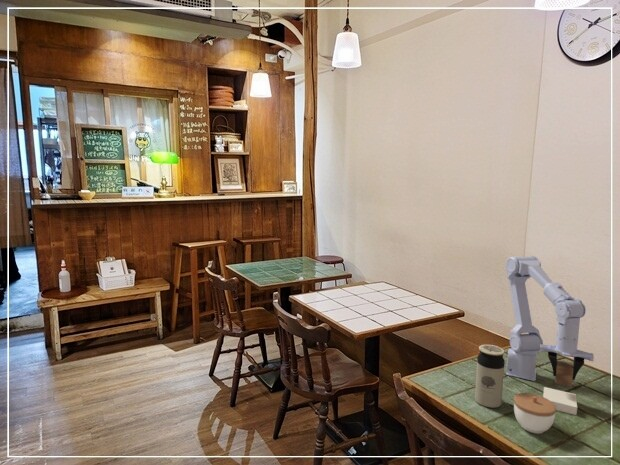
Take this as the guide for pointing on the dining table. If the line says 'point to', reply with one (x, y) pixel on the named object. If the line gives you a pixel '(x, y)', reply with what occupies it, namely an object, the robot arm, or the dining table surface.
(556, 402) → the cream tile block
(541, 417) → the lidded jar
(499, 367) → the travel mug
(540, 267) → the robot arm
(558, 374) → the walnut block
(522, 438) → the dining table surface
